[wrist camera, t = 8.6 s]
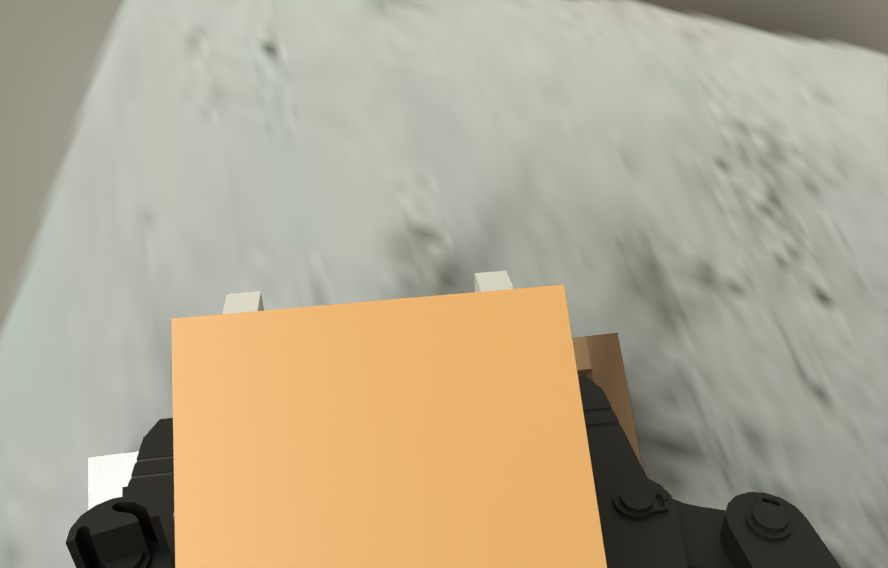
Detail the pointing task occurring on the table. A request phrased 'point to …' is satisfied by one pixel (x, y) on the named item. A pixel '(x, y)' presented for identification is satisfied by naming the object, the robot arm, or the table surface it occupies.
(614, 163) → the table surface
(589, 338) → the upper socket
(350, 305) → the plug
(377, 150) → the table surface
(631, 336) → the table surface
